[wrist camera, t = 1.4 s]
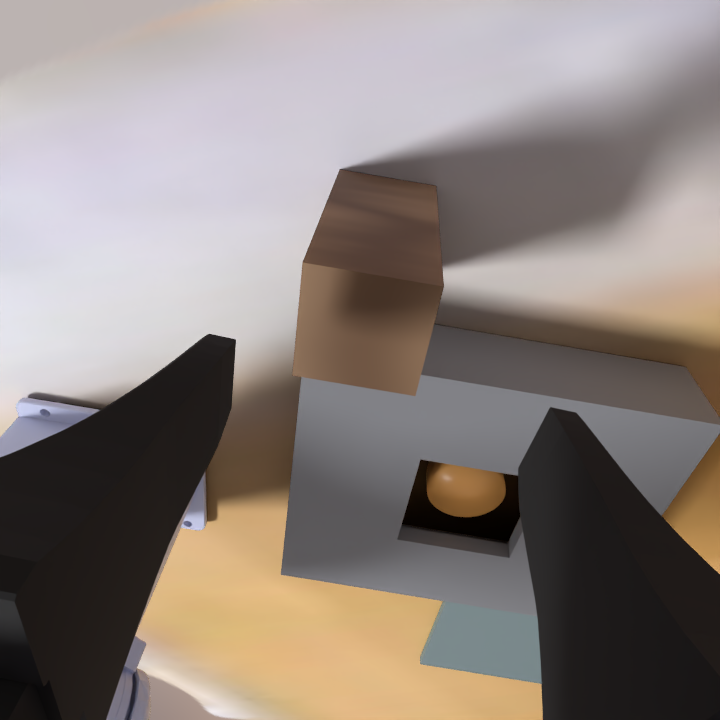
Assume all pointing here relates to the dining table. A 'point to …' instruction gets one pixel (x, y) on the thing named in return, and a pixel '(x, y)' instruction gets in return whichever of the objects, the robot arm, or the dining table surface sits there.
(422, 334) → the tall wooden block
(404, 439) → the grey flat block
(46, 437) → the robot arm
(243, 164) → the dining table surface
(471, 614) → the mat
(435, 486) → the button
